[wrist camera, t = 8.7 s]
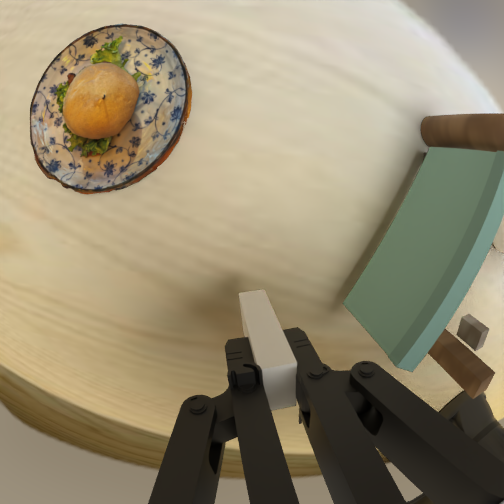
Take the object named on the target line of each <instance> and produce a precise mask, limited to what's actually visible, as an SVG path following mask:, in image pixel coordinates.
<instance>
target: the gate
mask: <svg viewBox="0 0 504 504" xmlns="http://www.w3.org/2000/svg"><path fill="white" fill-rule="evenodd" d="M503 216H504V151H498V150H497V152H490V151H481V150H470V149H458V148H443V147H430V148H429V150H428V153H427V155H426V157H425V159H424V161H423V163H422V166H421V168H420V170H419V172H418V174H417V176H416V178H415V180H414V182H413V184H412V186H411V188H410V190H409V192H408V194H407V196H406V198H405V200H404V202H403V204H402V206H401V207H400V209H399V211H398V213H397V215H396V217H395V219H394V220H393V222H392V224H391V226H390V228H389V229H388V231H387V233H386V235H385V236H384V238H383V240H382V242H381V243H380V245H379V247H378V248H377V250H376V252H375V253H374V255H373V257H372V258H371V260H370V262H369V263H368V265H367V266H366V268H365V270H364V271H363V273H362V274H361V276H360V278H359V279H358V281H357V282H356V284H355V285H354V287H353V288H352V290H351V291H350V293H349V294H348V296H347V297H346V299H345V300H344V302H343V304H344V306H345V307H346V308H347V309H348V310H349V311H350V312H351V313H352V315H353V316H354V317H355V318H356V319H357V320H358V321H359V323H360V324H361V325H362V326H363V327H364V328H365V329H366V331H367V332H368V333H369V334H370V335H371V336H372V337H373V339H374V340H375V341H376V342H377V343H378V344H379V346H380V347H381V348H382V349H383V350H384V351H385V353H386V354H387V355H388V358H389V359H390V360H391V361H392V363H393V364H394V365H395V366H396V367H398V368H401V369H404V370H407V371H410V372H413V371H414V369H415V368H416V367H417V366H418V364H419V363H420V362H421V361H422V359H423V358H424V357H425V355H426V354H427V353H428V351H429V350H430V349H431V347H432V346H433V344H434V343H435V342H436V340H437V339H438V337H439V336H440V335H441V333H442V332H443V330H444V329H445V327H446V326H447V324H448V323H449V321H450V320H451V318H452V317H453V315H454V313H455V312H456V310H457V309H458V307H459V305H460V304H461V302H462V300H463V299H464V297H465V295H466V293H467V292H468V290H469V288H470V286H471V285H472V283H473V281H474V279H475V277H476V275H477V273H478V272H479V270H480V268H481V266H482V264H483V262H484V260H485V258H486V255H487V253H488V251H489V249H490V247H491V245H492V242H493V240H494V238H495V236H496V233H497V231H498V228H499V226H500V224H501V221H502V218H503Z"/></svg>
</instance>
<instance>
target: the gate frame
mask: <svg viewBox="0 0 504 504" xmlns="http://www.w3.org/2000/svg"><path fill="white" fill-rule="evenodd" d="M421 134H422V137H423V140H424V141H425V143H426V144H427V145H428V146H429V147H443V148H458V149H470V150H481V151H490V152H497V150H498V151H504V114H457V115H441V116H428V117H426V118H424V120H423V121H422V124H421ZM426 155H427V153H424V159H425V157H426ZM488 331H489V328H488V327H486V326H485V325H484V324H482V323H481V322H479V321H478V320H477V319H475V318H474V317H473V316H471V315H470V314H468V315H466V316H463V317H462V318H461V322H460V325H459V329H458V332H457V336H459V337H460V338H461V339H462V340H463V341H464V342H466V343H467V344H468V345H469V346H470V347H471V348H473V349H474V350H475V351H476V350H478V349H480V348H481V347H483V345H484V342H485V339H486V337H487V334H488ZM428 354H429V355H430V356H431V357H432V358H433V359H434V360H435V361H436V362H437V363H438V364H439V365H440V366H441V367H442V368H443V369H444V370H445V371H446V372H447V373H448V374H449V375H450V376H451V377H452V378H453V379H454V380H455V381H456V382H457V383H458V384H459V385H460V386H461V387H462V388H463V389H464V390H465V391H466V393H467V394H468V395H469V396H470V397H471V398H472V399H474V398H475V397H477V396H478V395H480V394H481V393H482V392H484V391H485V390H486V389H487V388H488V386H489V384H490V382H491V380H492V378H493V376H494V374H495V372H494V371H493V370H492V369H491V368H490V367H488V366H487V365H486V364H485V363H484V362H483V361H482V360H481V359H480V358H478V357H477V356H476V355H475V354H474V353H473V352H472V351H471V350H469V349H468V348H467V347H466V346H465V345H464V344H462V343H461V342H460V341H459V340H458V339H457V338H455V337H454V336H453V335H452V334H451V333H450V332H448V331H447V330H446V329H444V330H443V332H442V333H441V335H440V336H439V337H438V339H437V340H436V342H435V343H434V344H433V346H432V347H431V349H430V350H429V351H428Z"/></svg>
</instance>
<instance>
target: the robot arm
mask: <svg viewBox="0 0 504 504" xmlns="http://www.w3.org/2000/svg"><path fill="white" fill-rule="evenodd" d="M239 301H240V309H241V317H242V325H243V332H244V336H245V337H244V338H237V339H230V340H228V341H227V343H226V345H225V352H226V359H227V366H228V374H227V376H228V381H229V387H228V389H227V390H226V391H225V392H224V393H223V394H221V395H219V396H217V397H214V398H212V399H211V398H210V397H208V396H205V395H195V396H192V397H189V398H188V399H186V400H185V401H184V402H183V404H182V406H181V408H180V411H179V414H178V417H177V420H176V423H175V426H174V429H173V432H172V434H171V437H170V440H169V443H168V446H167V449H166V452H165V455H164V458H163V461H162V464H161V467H160V470H159V473H158V476H157V479H156V482H155V485H154V488H153V491H152V494H151V497H150V500H149V503H148V504H214V503H215V498H216V492H217V487H218V481H219V476H220V471H221V465H222V460H223V454H224V449H225V443H226V441H229V440H231V439H233V438H236V437H238V441H239V447H240V453H241V458H242V464H243V469H244V474H245V480H246V485H247V490H248V495H249V500H250V504H299V501H298V498H297V495H296V492H295V489H294V486H293V483H292V479H291V476H290V473H289V469H288V466H287V463H286V460H285V456H284V453H283V450H282V446H281V443H280V440H279V436H278V433H277V430H276V426H275V423H274V420H273V416H272V413H271V411H272V410H277V409H282V408H287V407H291V406H296V399H297V401H298V404H299V424H301V423H302V422H303V425H304V427H305V430H306V433H307V435H308V438H309V441H310V443H311V446H312V448H313V451H314V454H315V456H316V459H317V461H318V464H319V467H320V469H321V472H322V474H323V477H324V479H325V482H326V485H327V487H328V490H329V492H330V495H331V497H332V500H333V502H334V504H504V428H503V427H502V426H501V425H500V424H499V422H498V421H497V420H496V419H495V418H494V416H493V413H492V410H491V408H490V406H489V404H488V402H487V400H486V395H485V393H484V392H482V393H481V394H480V395H478V396H477V397H475V398H474V399H472V398H471V397H470V396H469V395H468V394H467V393H466V391H464V392H462V393H461V394H460V395H458V396H457V397H456V398H455V399H453V400H452V401H451V402H450V403H449V404H448V405H447V406H446V407H445V408H443V409H442V410H441V411H440V412H439V413H438V412H437V411H436V410H434V409H433V408H432V407H431V406H429V405H428V404H427V403H425V402H424V401H423V400H422V399H420V398H419V397H418V396H417V395H415V394H414V393H413V392H411V391H410V390H409V389H408V388H406V387H405V386H404V385H403V384H401V383H400V382H399V381H398V380H396V379H395V378H394V377H392V376H391V375H390V374H389V373H387V372H386V371H385V370H384V369H382V368H381V367H380V366H379V365H377V364H375V363H374V362H370V361H361V362H358V363H356V364H355V365H354V366H353V367H352V369H351V371H335V370H331V368H330V367H329V366H327V365H325V364H323V363H322V362H321V360H320V359H319V357H318V355H317V353H316V351H315V350H314V348H313V346H312V345H311V342H310V341H309V340H308V337H307V335H306V333H305V332H304V331H302V330H301V329H299V328H298V327H297V328H292V329H286V330H282V328H281V326H280V323H279V321H278V319H277V317H276V314H275V312H274V310H273V308H272V305H271V303H270V301H269V299H268V296H267V294H266V292H265V290H264V289H261V290H254V291H248V292H241V293H239ZM374 445H375V446H374ZM376 448H377V449H378V450H379V451H380V452H381V453H382V454H383V455H384V456H385V457H386V458H387V459H388V460H389V461H391V462H392V463H393V464H394V465H395V466H396V467H397V468H398V469H399V470H400V471H401V472H402V473H403V474H404V475H405V476H406V477H407V478H408V479H409V480H410V481H411V482H412V483H413V484H414V485H415V486H416V487H417V488H419V489H420V490H421V491H422V492H423V493H422V494H421V495H419V496H418V497H416V498H414V499H413V500H411V501H408V502H406V501H405V500H404V498H403V496H402V494H401V492H400V491H399V489H398V487H397V485H396V483H395V482H394V480H393V478H392V476H391V474H390V472H389V471H388V469H387V467H386V465H385V463H384V462H383V460H382V458H381V456H380V454H379V453H378V451H377V449H376Z"/></svg>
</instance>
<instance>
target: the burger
mask: <svg viewBox="0 0 504 504" xmlns="http://www.w3.org/2000/svg"><path fill="white" fill-rule="evenodd" d="M191 99H192V89H191V81H190V76H189V73H188V71H187V68H186V65H185V63H184V61H183V59H182V57H181V55H180V54H179V52H178V50H177V49H176V48H175V46H174V45H173V44H172V43H171V42H170V41H169V40H167V39H166V38H164V37H163V36H162V35H161V34H159V33H157V32H156V31H154V30H151V29H149V28H146V27H143V26H137V25H127V24H117V25H110V26H104V27H101V28H99V29H96V30H93V31H90V32H88V33H86V34H84V35H83V36H81V37H80V38H77V39H76V40H75V41H73V42H72V43H70V44H69V45H68V46H67V47H66V48H65V49H64V50H63V51H61V52H60V53H59V54H58V55H57V56H56V57H55V58H54V60H53V61H52V62H51V63H50V65H49V66H48V68H47V69H46V71H45V72H44V74H43V76H42V78H41V80H40V81H39V83H38V85H37V88H36V90H35V93H34V96H33V99H32V102H31V106H30V137H31V145H32V147H33V150H34V154H35V160H36V162H37V164H38V166H39V168H40V169H41V170H42V172H43V173H44V174H45V175H46V176H47V178H49V179H54V180H57V181H58V182H60V183H61V184H62V186H63V187H65V188H72V189H73V190H75V191H76V192H79V193H82V194H93V193H101V192H110V191H112V190H119V189H123V188H126V187H128V186H130V185H132V184H134V183H136V182H139V181H140V180H141V179H143V178H144V177H145V176H147V175H148V174H150V173H151V172H153V171H154V170H156V169H157V167H158V166H160V165H161V164H162V163H163V162H164V161H165V160H166V159H167V158H168V156H169V155H170V153H171V152H172V150H173V148H174V147H175V145H176V144H177V143H178V141H179V139H180V136H181V133H182V130H183V124H184V123H185V122H186V121H187V118H189V114H190V111H191ZM184 121H185V122H184ZM183 122H184V123H183ZM185 125H186V123H185Z"/></svg>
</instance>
